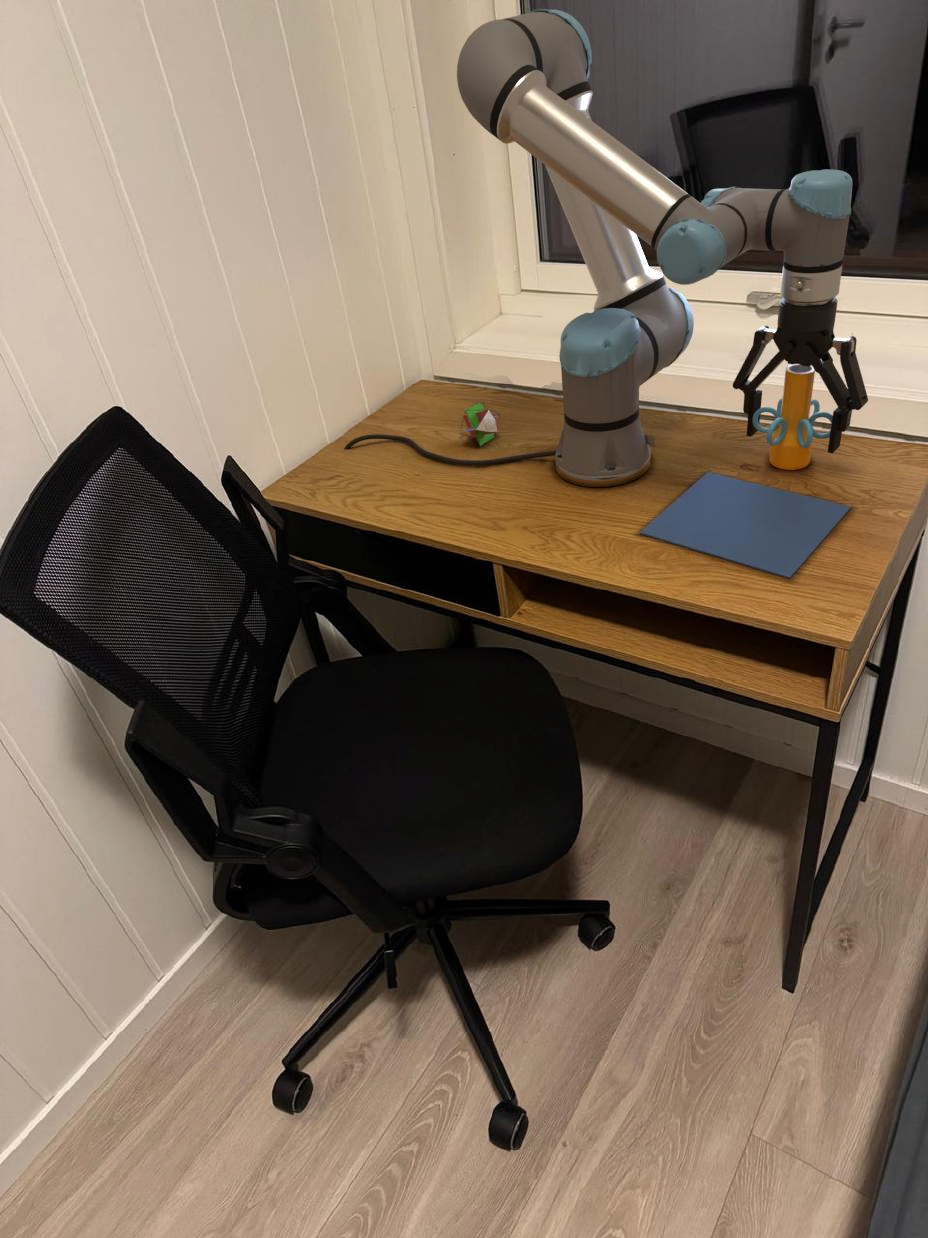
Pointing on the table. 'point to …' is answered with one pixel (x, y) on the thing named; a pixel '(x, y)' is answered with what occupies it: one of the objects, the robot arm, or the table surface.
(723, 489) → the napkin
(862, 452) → the table surface
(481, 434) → the geometric puzzle
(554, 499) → the table surface
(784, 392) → the cylinder
